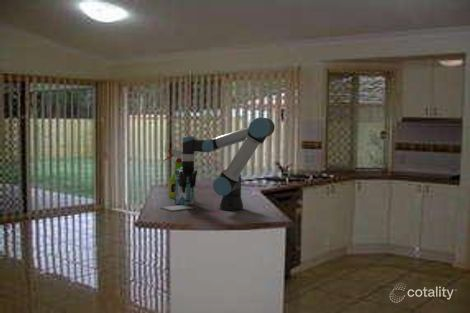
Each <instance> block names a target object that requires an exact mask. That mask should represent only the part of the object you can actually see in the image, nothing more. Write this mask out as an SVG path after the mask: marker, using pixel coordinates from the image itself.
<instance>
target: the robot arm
mask: <svg viewBox="0 0 470 313" xmlns="http://www.w3.org/2000/svg"><path fill="white" fill-rule="evenodd" d="M275 128H276V127H275V123H274V121H273V120H272V119H270V118H268V117H256V118H253V120H251V121H250V123H249V125H248V126H247V127H244V128H240V129H239V130H235V131H232V132H229V133H226V134H222V135H220V136H217V137H213V138H210V139H196V138H195V136H194V135H185V136H183V137H182V142H181V143H182V144H181V145H182V151H181V152H182V155H181V159H182V170H181V171H178V173H179V183H180V187H182V192H183V198H187V188H185V187H186V182H187V177H188V179H189V181H190V198H191V194H192V188H193V187H194V188H195V187H196V183H197V182H196V180H197V174H198V170H196V169H195V152H199V153H211V152H214V151H217V150H219V149H223V148H226V147H229V146H232V145H235V144H238V143H242V142H243V143H242V144H241V145H240V147H239V149H238V151H237V152H236V153H235V155H234V157H233V158H232V160H231V162H230V163H229V165H228V166H227V168H226V169H222V170H221V173H220V174H219V176H218V177H216V178H215V179H214V181H213V183H212V188H213V189H212V190H213V191H214V192H215V194H217V195H218V196H220V197H221V201H220V203H219V209H221V210H224V211H241V210H244V204H243V200H242V180H243V179H242V172H243V170H244V169H245V167H246V166H247V164H248V163H249V161H250V159H251V158H252V156H253V155H254V153H255V152H256V150H257V148H258V146H259V145H262V144H264V142H265V140H267V137H270V136H271V135H273V133H274V131H275V130H276V129H275ZM193 167H194V168H193ZM192 173H193V175H192ZM185 175H186V176H185Z"/></svg>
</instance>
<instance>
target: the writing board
mask: <svg viewBox="0 0 470 313" xmlns="http://www.w3.org/2000/svg"><path fill="white" fill-rule="evenodd" d="M194 208H195V207H193V206H190V205H179V204H178V205H172V206H171V205H170V206H162V207H159V209H161V210H163V209H164V210H163V211H167V210H168V212H171V211H173V212H179V210H181V211H187V210H186V209H190V210H195V209H194Z"/></svg>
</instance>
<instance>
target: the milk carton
mask: <svg viewBox="0 0 470 313" xmlns="http://www.w3.org/2000/svg"><path fill="white" fill-rule="evenodd" d="M193 168H194V169H195V166H194V167H193ZM181 170H182V167H180V168H179V169H177V170H175V169H174V173H175V199H174V204H176V205H178V206H179V205H185V206H189V205H188V204H191V205H194V204H195V186H194V187H193V188H192V194H191V198H190V200H189V202H185V200H184V198H183V192H182V187H180V183H179V173H178V171H181ZM192 175H193V173H192ZM185 176H186V175H185ZM187 181H189V179H188V177H187Z"/></svg>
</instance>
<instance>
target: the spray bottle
mask: <svg viewBox="0 0 470 313" xmlns="http://www.w3.org/2000/svg"><path fill="white" fill-rule="evenodd" d="M167 152H168V153H170V156H168V157H166V158H165V159H163V162H165V161H167V160H169V159H171V158H173V157H175V158H176V159H175V162H174V171H175V170H177V169H179V168H180V167H182V161H183V160H182V151H181V150H178V149H174V148H169V149H168V150H167ZM168 198H170V199H173V200H175V172H173V174H172V175H171V176H170V178H169V180H168Z"/></svg>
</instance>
